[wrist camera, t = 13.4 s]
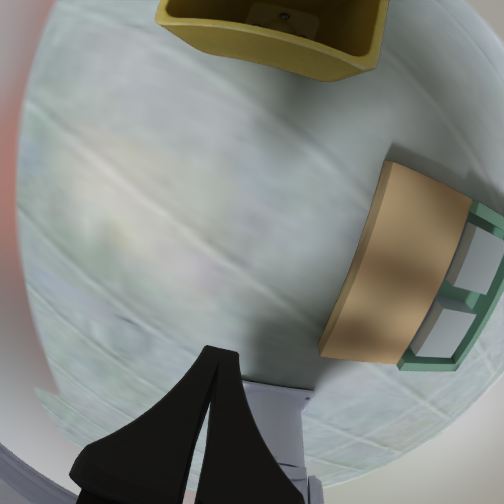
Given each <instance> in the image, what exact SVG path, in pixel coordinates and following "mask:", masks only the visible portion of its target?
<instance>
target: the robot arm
mask: <svg viewBox="0 0 504 504" xmlns="http://www.w3.org/2000/svg"><path fill="white" fill-rule="evenodd" d="M313 397H314V392H313V391H310V390H301V389H293V388H286V387H279V386H272V385H266V384H260V383H254V382H249V381H244V380H242V378H241V372H240V365H239V354H238V353H237V352H235V351H230V350H226V349H222V348H217V347H213V346H209V345H206V346H204V348H203V350H202V352H201V353H200V355H199V357H198V358H197V360H196V361H195V362H194V364H193V365H192V367H191V368H190V369H189V370H188V371H187V373H186V374H185V375H184V376H183V378H182V379H181V380H180V381H179V382H178V383H177V384H176V385H175V386H174V387H173V388H172V389H171V390H170V391H169V392H168V393H167V394H166V395H165V396H164V397H163V398H162V399H161V400H160V401H159V402H158V403H156V404H155V405H154V406H153V407H152V408H150V409H149V410H148V411H146V412H145V413H144V414H142V415H141V416H140V417H138V418H137V419H135V420H134V421H132V422H131V423H129V424H128V425H126V426H124V427H123V428H121V429H119V430H117V431H116V432H114V433H112V434H110V435H108V436H106V437H104V438H102V439H100V440H97V441H95V442H93V443H91V444H88V445H87V446H86V447H85V448H84V449H83V450H82V451H81V453H80V454H79V456H78V457H77V458H76V460H75V462H74V464H73V466H72V468H71V471H70V473H69V476H70V478H71V479H72V480H73V481H74V482H75V483H76V484H77V485H78V486H79V487H80V488H81V492H80V494H79V496H78V495H76V494H74V493H72V492H71V491H69V490H67V489H65V488H63V487H62V486H60V485H58V484H57V483H55V482H53V481H52V480H50V479H49V478H47V477H45V476H44V475H42V474H41V473H39V472H38V471H36V470H35V469H34V468H32V467H31V466H29V465H28V464H26V463H25V462H24V461H22V460H21V459H20V458H18V457H17V456H16V455H15V454H13V453H12V452H11V451H10V450H8V449H7V448H6V447H5V446H3V445H2V444H1V443H0V504H182V503H183V499H184V494H185V490H186V485H187V480H188V476H189V471H190V467H191V462H192V458H193V453H194V449H195V446H196V442H197V439H198V436H199V434H200V431H201V428H202V425H203V422H204V419H205V416H206V413H207V410H208V407H209V404H210V411H209V420H208V429H207V439H206V447H205V454H204V459H203V464H202V468H201V473H200V478H199V483H198V488H197V493H196V498H195V502H194V504H324V499H323V489H322V483H321V481H320V480H319V479H318V478H316V477H315V476H308V489H307V474H306V467H305V465H304V448H303V432H302V418H301V415H302V414H303V412H304V411H305V409H306V408H307V406H308V405H309V403H310V401H311V400H312V398H313ZM210 401H211V402H210Z"/></svg>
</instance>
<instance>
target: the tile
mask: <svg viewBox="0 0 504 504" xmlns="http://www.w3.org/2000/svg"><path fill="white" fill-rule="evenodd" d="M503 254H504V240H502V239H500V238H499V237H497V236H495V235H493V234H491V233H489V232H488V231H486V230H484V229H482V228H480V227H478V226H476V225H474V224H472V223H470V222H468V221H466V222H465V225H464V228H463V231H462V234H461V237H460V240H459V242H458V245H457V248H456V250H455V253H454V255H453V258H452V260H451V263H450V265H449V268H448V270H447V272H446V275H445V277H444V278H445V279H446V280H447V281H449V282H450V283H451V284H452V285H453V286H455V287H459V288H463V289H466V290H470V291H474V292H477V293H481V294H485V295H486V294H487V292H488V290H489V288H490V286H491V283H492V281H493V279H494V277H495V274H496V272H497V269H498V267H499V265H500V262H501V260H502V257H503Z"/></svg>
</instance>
